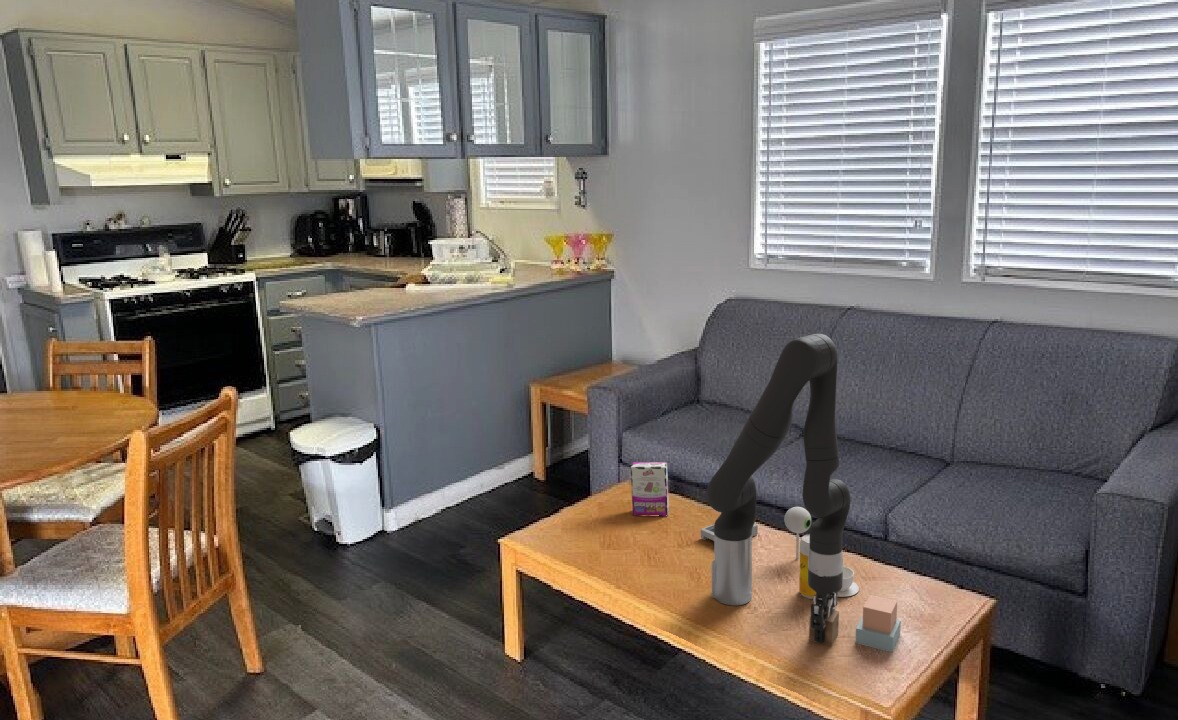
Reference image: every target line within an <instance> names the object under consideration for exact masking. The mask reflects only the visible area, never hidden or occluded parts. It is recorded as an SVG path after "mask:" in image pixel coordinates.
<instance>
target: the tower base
mask: <svg viewBox="0 0 1178 720" xmlns="http://www.w3.org/2000/svg"><path fill="white" fill-rule="evenodd" d="M901 622H902V620H901V619H898V618H897V621H896V623H895V625H894V627H893V629H892V631H891V633H890V634H889V633H885V632H881V631H877V630H873V629H869V628H865V627H863V615H862V616H861V618H860V620H859V622H858V623H857V626H856V628H855V644H858V645H862V646H866V647H871V648H874V649H878V650H882V651H887V652H890V653H893V652H894V650H895V648H896V646H897V643H898V641H899V638H900V635H901V626H902V625H901V624H902V623H901Z"/></svg>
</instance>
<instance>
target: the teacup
mask: <svg viewBox="0 0 1178 720" xmlns="http://www.w3.org/2000/svg"><path fill="white" fill-rule="evenodd" d="M854 577H855V571H854V570H853V569H852V568H850V567H848V566H845V565H843V586H842V588H841V590H840V591H838V597H841V598H843V597H844V598H845V597H846V598H847V597H851V596H854V595H856V594H858V593H859V590H860V587H859V585H858V584H857V583H856V582H855V581H854ZM838 597H837V598H838Z"/></svg>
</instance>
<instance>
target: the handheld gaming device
mask: <svg viewBox="0 0 1178 720" xmlns="http://www.w3.org/2000/svg"><path fill="white" fill-rule="evenodd" d="M714 524H715V523H714ZM714 524H711V525H708V526H706V527H703V528H700V539H702V540H703V541H706V540H705V539H707V540H708V538H709V540H711V541H713V542H714ZM758 529H759V527H758V524H757V523H754V525H753V528H752V537H755V536H758Z"/></svg>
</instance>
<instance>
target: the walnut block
mask: <svg viewBox="0 0 1178 720" xmlns="http://www.w3.org/2000/svg"><path fill="white" fill-rule="evenodd" d="M823 614H826V612H823ZM808 618H809V621H808V622H809V623H808V625H809V629H808V641H811V642H813V643H818V644H822V645H826V646H830V647H833V646H834V644H835V641H836V639H837V638H838V636H839V622H840V621H839V620H840V619H839V618H840V611H839V610H836V609H835V610H831V609H830V615H829V618H827V619H826V627H825V642H824V643H820V642H816V641H815V639H814V638H815V628H811V614H810V615H809V617H808ZM817 622H819V621H817Z"/></svg>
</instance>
